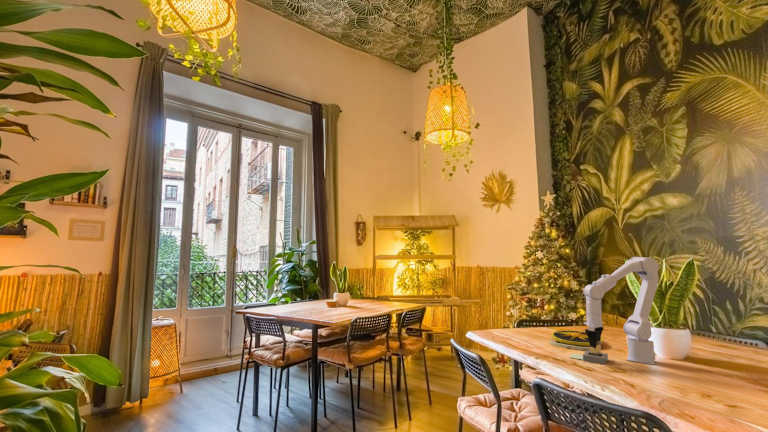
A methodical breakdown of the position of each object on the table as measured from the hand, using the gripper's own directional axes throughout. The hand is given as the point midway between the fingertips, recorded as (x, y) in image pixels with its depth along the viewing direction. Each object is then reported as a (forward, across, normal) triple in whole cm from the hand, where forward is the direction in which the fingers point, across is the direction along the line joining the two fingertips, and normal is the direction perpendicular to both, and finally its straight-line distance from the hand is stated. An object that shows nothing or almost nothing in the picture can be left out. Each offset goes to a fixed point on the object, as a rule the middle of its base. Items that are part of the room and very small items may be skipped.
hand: (594, 345), depth 165 cm
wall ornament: (+6, -28, -12) cm, 31 cm away
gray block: (+6, 0, 0) cm, 6 cm away
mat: (+6, 0, -7) cm, 9 cm away
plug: (+6, 0, 0) cm, 6 cm away
